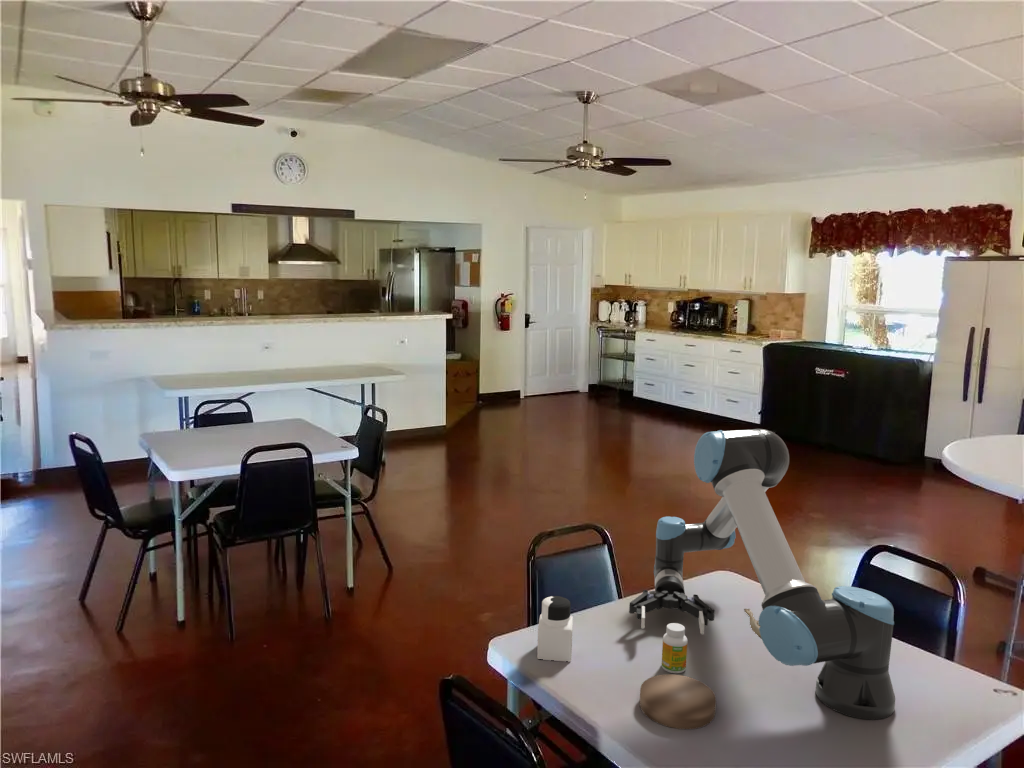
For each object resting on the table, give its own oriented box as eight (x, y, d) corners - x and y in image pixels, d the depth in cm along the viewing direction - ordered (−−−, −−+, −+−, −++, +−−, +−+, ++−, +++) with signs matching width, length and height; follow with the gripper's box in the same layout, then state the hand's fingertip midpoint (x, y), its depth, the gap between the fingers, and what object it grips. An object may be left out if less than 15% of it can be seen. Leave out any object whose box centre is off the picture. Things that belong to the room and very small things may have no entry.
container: (572, 646, 180) (573, 593, 179) (571, 662, 173) (573, 608, 171) (539, 643, 181) (540, 591, 179) (537, 660, 174) (538, 606, 172)
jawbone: (778, 655, 180) (778, 647, 180) (719, 620, 198) (719, 612, 198) (806, 644, 184) (806, 636, 184) (746, 611, 202) (746, 604, 202)
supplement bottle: (670, 676, 168) (672, 634, 166) (656, 664, 173) (658, 623, 171) (690, 671, 170) (693, 630, 169) (676, 660, 175) (678, 619, 173)
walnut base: (730, 713, 154) (731, 699, 154) (679, 738, 145) (680, 723, 145) (674, 680, 166) (675, 667, 166) (624, 701, 157) (624, 688, 157)
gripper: (717, 607, 198) (726, 646, 177) (620, 598, 202) (618, 635, 181) (719, 579, 197) (728, 615, 176) (621, 571, 201) (619, 605, 180)
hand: (672, 625), depth 179 cm, fingers open, 13 cm apart
